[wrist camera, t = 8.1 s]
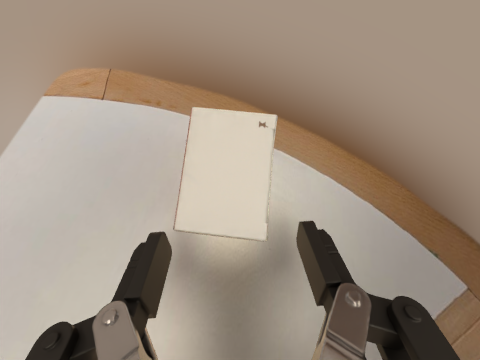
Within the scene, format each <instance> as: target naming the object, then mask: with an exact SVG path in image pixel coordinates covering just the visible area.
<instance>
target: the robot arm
mask: <svg viewBox="0 0 480 360" xmlns="http://www.w3.org/2000/svg"><path fill="white" fill-rule="evenodd" d="M297 247H298V250H299V253H300V256H301V259H302V262H303V265H304V268H305V271H306V274H307V277H308V280H309V283H310V286H311V289H312V292H313V295H314V298H315V301H316V304H317V306H324V308H325V311H326V314H325V318H324V321H323V324H322V328H321V331H320V334H319V338H318V341H317V345H316V348H315V351H314V354H313V357H312V359H311V360H367V359H366V358H365V348H366V341H368V342H372V343H375V344H376V345H377V348H378V350H379V352H380V355H381V357H382V359H383V360H460V359H459V357H458V356H457V354H456V353H455V351H454V350H453V348H452V347H451V345H450V344H449V342H448V341H447V339H446V338H445V336H444V335H443V333H442V332H441V330H440V329H439V327H438V326H437V324H436V323H435V321H434V320H433V319H432V317H431V316H430V314H429V313H428V311H427V310H426V309H425V308H424V307H423V306H422V305H421V304H420V303H418V302H417V301H415V300H413V299H411V298H409V297H405V296H398V297H396V298H394V299H393V300H389V299H385V298H381V297H377V296H373V295H371V294H368V293H366V292H365V291H364V290H363V289H362V288H360V287H359V286H357V285H356V283H355V282H354V280H353V279H352V277H351V275H350V273H349V271H348V269H347V267H346V265H345V263H344V261H343V259H342V258H341V256H340V254H339V253H338V250H337V248H336V246H335V244H334V242H333V240H332V238H331V236H330V235H329V234H328V233H327V232H325V231H324V230H323V229H322V230H318V229H317V227H316V225H315V223H314V222H313V221H304V222H299V227H298V232H297ZM171 256H172V249H171V245H170V243H169V241H168V238H167V236H166V234H165V232H153V233H150V234H149V236H148V238H147V241H146V242H145V243H141V244H140V245H139V246H138V247H137V248H136V249H135V250H134V252H133V254H132V257H131V259H130V262H129V264H128V266H127V269H126V270H125V273H124V275H123V277H122V279H121V282H120V284H119V286H118V288H117V291H116V293H115V295H114V297H113V299H112V301H111V302H110V303H109V304H107V305H106V306H104V307H103V308H102V309H101V310H100V311H99V313H98V314H97V315H96V316H94V317H91V318H89V319H87V320H84V321H82V322H79V323H77V324H74V325H71V324H70V323H68V322H59V323H57V324H55V325H53V326H51V327H50V328H48V329H47V330H46V331H45V332H44V333H43V334H42V335H41V336H40V337H39V338H38V339H37V341H36V342H35V344H34V346H33V347H32V349H31V351H30V352H29V354H28V356H27V357H26V359H25V360H158V358H157V355H156V352H155V350H154V347H153V344H152V342H151V339H150V336H149V334H148V331H147V328H146V324H147V321H148V318H156V314H157V310H158V307H159V303H160V299H161V295H162V291H163V287H164V284H165V280H166V276H167V272H168V268H169V264H170V260H171Z"/></svg>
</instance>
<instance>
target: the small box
mask: <svg viewBox="0 0 480 360" xmlns="http://www.w3.org/2000/svg"><path fill="white" fill-rule="evenodd" d="M277 117H278V116H277V115H272V114H262V113H252V112H242V111H232V110H221V109H211V108H198V107H192V108H191V116H190V122H189V129H188V136H187V143H186V149H185V156H184V163H183V170H182V176H181V183H180V190H179V196H178V203H177V209H176V216H175V223H174V228H173V229H174V230H175V231H180V232H188V233H196V234H204V235H212V236H221V237H229V238H237V239H246V240H255V241H263V242H264V241H267V239H268V213H269V199H270V186H271V173H272V162H273V150H274V140H275V132H276V124H277Z"/></svg>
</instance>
